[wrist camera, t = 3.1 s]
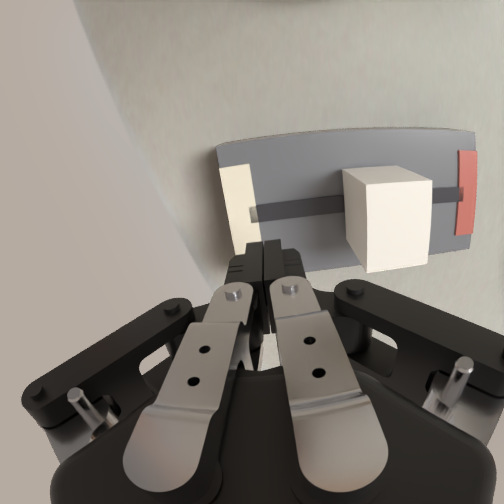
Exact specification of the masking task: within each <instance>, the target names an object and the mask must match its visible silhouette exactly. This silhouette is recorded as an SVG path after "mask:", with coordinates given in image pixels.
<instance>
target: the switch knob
mask: <svg viewBox="0 0 504 504" xmlns="http://www.w3.org/2000/svg"><path fill="white" fill-rule="evenodd" d="M342 174H343V187H344V202H345V222H346V240H347V241H348V243H349V245H350V246H351V248H352V249H353V251H354V253H355V254H356V256H357V258H358V259H359V261H360V263H361V264H362V266H363V268H364V269H365V271H366V273H371V272H378V271H385V270H391V269H398V268H404V267H411V266H417V265H423V264H427V260H428V251H429V241H430V228H431V211H432V180H430V179H428V178H426V177H423V176H421V175H419V174H416V173H414V172H412V171H409V170H407V169H404V168H402V167H399V166H397V165H394V166H376V167H361V168H348V169H342Z"/></svg>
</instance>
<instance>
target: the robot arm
mask: <svg viewBox="0 0 504 504" xmlns="http://www.w3.org/2000/svg"><path fill="white" fill-rule="evenodd" d="M270 325H271V332H272V333H276V340H277V347H278V354H279V360H280V366H278V367H275V368H271V369H268V370H264V371H261V365H262V357H263V343H262V342H263V334H270ZM372 329H374V330H376V331H379V332H381V333H383V334H385V335H387V336H389V337H391V338H392V339H393V340H394V341H395V342H396V344H397V348H398V349H396V348H394V347H392V346H390V345H388V344H386V343H384V342H382V341H380V340H378V339H376V338H374V337H372ZM164 344H165V345H166V347H167V350H168V352H169V354H170V356H169V357H168V358H166V359H165V360H163V361H162V362H161V363H159V364H158V365H156V366H155V367H153V368H152V369H151V370H149V371H148V372H146V373H145V374H144V375H141V373H140V371H139V365H140V362H141V361H142V360H143V359H144V358H145V357H147V356H148V355H150V354H151V353H153V352H154V351H156V350H157V349H158V348H160V347H162V346H163V345H164ZM21 401H22V405H23V407H24V408H25V409H26V410H27V411H28V413H29V414H30V415H31V416H32V417H33V418H34V419H35V420H36V422H37V424H38V425H39V426H40V427H41V428H42V429H43V430H44V431H45V432H46V434H47V437H48V439H49V441H50V443H51V446H52V448H53V450H54V452H55V454H56V456H57V458H58V460H59V462H60V466H59V467H58V468H57V470H56V471H55V473H54V475H53V478H52V481H51V486H50V498H51V504H492V502H493V496H494V491H495V485H496V466H495V462H494V459H493V456H492V454H491V453H490V451H489V449H488V448H487V447H486V446H487V444H488V442H489V440H490V438H491V436H492V434H493V432H494V429H495V427H496V425H497V423H498V421H499V418H500V416H501V413H502V411H503V408H504V336H503V335H501V334H498V333H496V332H494V331H491V330H489V329H486V328H484V327H481V326H479V325H476V324H474V323H472V322H469V321H467V320H464V319H462V318H459V317H457V316H454V315H452V314H449V313H447V312H444V311H442V310H439V309H437V308H434V307H432V306H429V305H427V304H424V303H422V302H419V301H416V300H414V299H411V298H409V297H406V296H404V295H401V294H399V293H396V292H394V291H391V290H388V289H386V288H383V287H381V286H378V285H376V284H373V283H370V282H368V281H365V280H360V279H350V280H346V281H343V282H341V283H339V284H338V285H336V287H335V289H334V292H324V291H319V290H316V289H314V288H312V286H311V284H310V282H309V281H308V280H307V279H306V275H305V271H304V267H303V263H302V259H301V255H300V252H298V251H297V250H296V249H294V248H290V249H282V247H281V239H275V240H266V241H264V244H263V241H259V242H250V243H246V249H245V254H240V255H235V256H234V257H233V258H232V259H231V260H230V262H229V268H228V271H227V275H226V279H225V283H224V285H223V286H221V287H219V288H218V289H217V290H216V291H215V292H214V294H213V297H212V299H211V301H210V303H208V304H205V305H202V306H198V307H195V308H193V307H192V304H191V302H190V301H189V300H188V299H185V298H173V299H169V300H166V301H164V302H162V303H160V304H159V305H157V306H155V307H154V308H152V309H151V310H149V311H147V312H146V313H144V314H142V315H141V316H139V317H137V318H136V319H134V320H133V321H131V322H129V323H128V324H126V325H124V326H123V327H121V328H120V329H118V330H116V331H115V332H113V333H111V334H110V335H109V336H106V337H105V338H103V339H102V340H100V341H98V342H97V343H95V344H93V345H92V346H90V347H89V348H87V349H85V350H84V351H82V352H80V353H79V354H77V355H76V356H74V357H72V358H71V359H69V360H68V361H66V362H64V363H63V364H61V365H59V366H58V367H56V368H54V369H53V370H51V371H50V372H48V373H46V374H45V375H43V376H41V377H40V378H38V379H37V380H35V381H33V382H32V383H31V384H29V385H28V387H26V389H25V390H24V392H23V395H22V399H21Z"/></svg>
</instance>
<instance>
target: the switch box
mask: <svg viewBox="0 0 504 504" xmlns="http://www.w3.org/2000/svg"><path fill="white" fill-rule="evenodd" d="M216 151H217V157H218V162H219V171H220V176H221V182H222V187H223V193H224V198H225V203H226V208H227V214H228V219H229V224H230V229H231V235H232V240H233V245H234V250H235V255H240V254H245V249H246V243H250V242H259V241H263V244H264V241H266V240H275V239H281V247H282V249H290V248H294V249H296V250H297V251H298V252H300V255H301V259H302V263H303V267H304V271H305V272H311V271H318V270H326V269H334V268H342V267H349V266H357V265H362V264H361V263H360V261H359V259H358V258H357V256H356V254H355V253H354V251H353V249H352V248H351V246H350V245H349V243H348V241H347V240H346V222H345V202H344V187H343V174H342V169H348V168H361V167H376V166H394V165H397V166H399V167H402V168H404V169H407V170H409V171H412V172H414V173H416V174H419V175H421V176H423V177H426V178H428V179H430V180H432V211H431V228H430V241H429V251H428V255H432V254H439V253H445V252H451V251H458V250H464V249H469V247H470V240H471V234H472V233H473V227H474V217H475V206H476V190H477V151H476V142H475V132H470V131H463V130H456V129H448V128H424V127H373V128H348V129H332V130H319V131H308V132H298V133H288V134H280V135H272V136H264V137H257V138H250V139H244V140H237V141H231V142H226V143H222V144H220V145H218V146H216Z"/></svg>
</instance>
